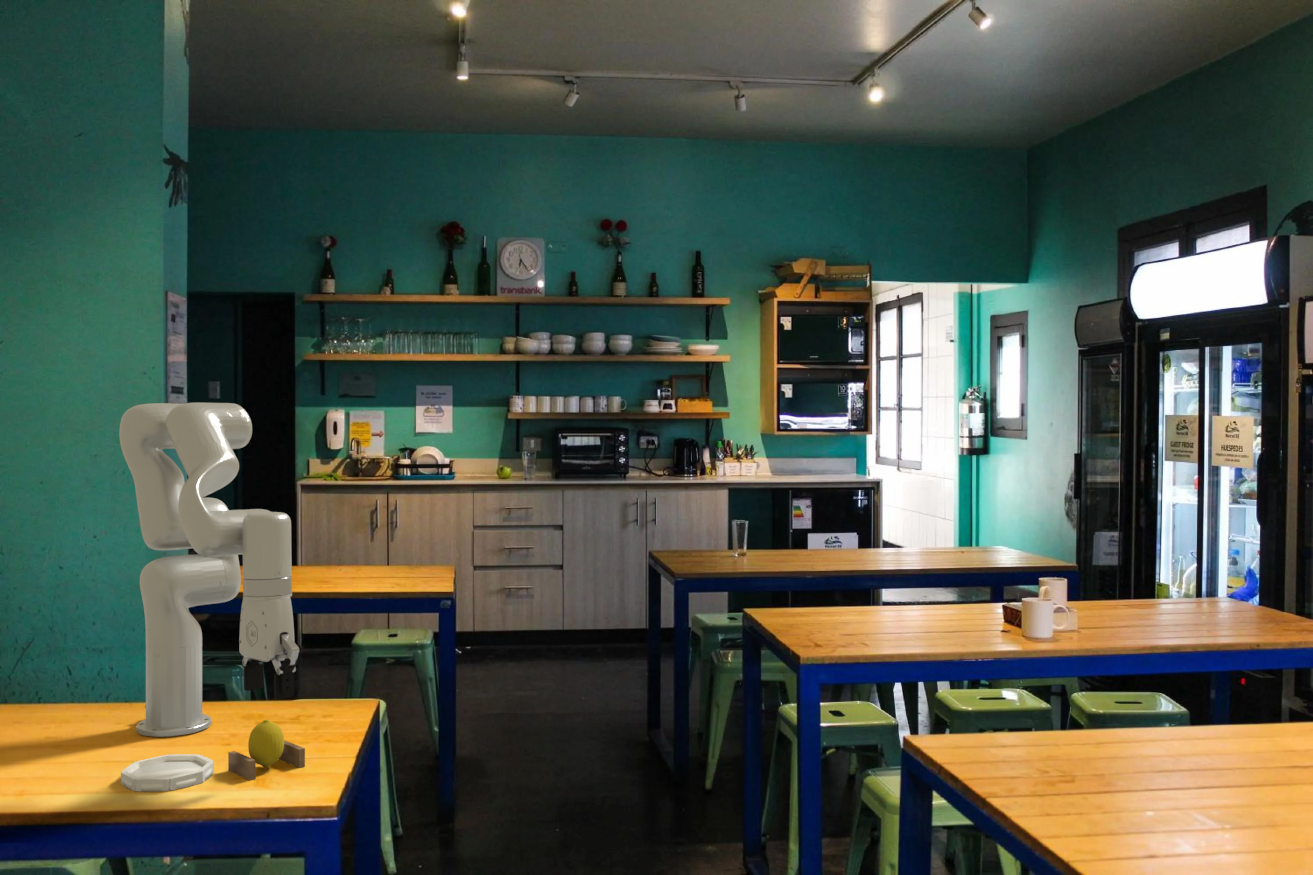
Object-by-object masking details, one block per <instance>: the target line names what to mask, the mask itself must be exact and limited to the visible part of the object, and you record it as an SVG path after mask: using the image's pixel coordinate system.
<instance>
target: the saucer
mask: <svg viewBox="0 0 1313 875" xmlns="http://www.w3.org/2000/svg"><path fill="white" fill-rule="evenodd" d="M214 768H215V760H213V759H211V758H209V757H206V756H205V755H202V754H198V753H197V754H196V753H195V754H194V753H193V754H189V753H187V754H184V753H183V754H182V753H181V754H179V753H177V754H176V753H175V754H163V755H159V756H153V757H149V758H146V759H141V760H136V761H133V762H132V763H131V764H129V765H128V766H127V767H125V768H124V769H122V770H121V772H120V784H121V785H123V788H126V789H128V790H130V791H133V792H144V793H145V792H150V793H151V792H169V791H174V790H179V789H181V790H182V789H185V788H190V787H193V786H196V785H200V784H202V783H205V782H206V781H207V780H209V779H210V778H211V777H212V776H213V774H214V773H215V769H214Z"/></svg>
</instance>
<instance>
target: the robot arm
mask: <svg viewBox="0 0 1313 875" xmlns="http://www.w3.org/2000/svg"><path fill="white" fill-rule="evenodd" d="M118 432H119V444H120V448H121V452H122V455H123V457H124V460H125V462H126V464H127V466H128V469H129V471H130V473H131V475H132V479H133V483H134V487H135V497H136V504H137V512H138V517H139V526H140V530H141V535H142V539H143V541H144V543H145V545H146V546H147V548H148V549H150V550H151V549H152V550H155V551H179V550H189V549H193V551H195V552H196V553H197V554H183V555H172V556H171V555H170V556H165V557H160V558H157V559H153V560H152V561H150V562H148V563H147V564H146V565H145V566H144V567H143V568H142V569H141V572H140V575H139V588H140V589H139V590H140V594H141V600H142V604H143V611H144V612H143V613H144V624H145V626H144V628H145V706H144V708H145V719H143V720H141V721H139V722H138V723H137V724H136V728H135V729H136V732H137V734H139V735H142V736H145V737H151V738H153V737H154V738H157V737H158V738H160V737H161V738H164V737H178V736H185V735H191V734H194V733H195V734H196V733H198V732H202V731H203V730H206V729H208V728H209V727H210V726H211V725H212V718H211V716H209V715H207V714H205V713H203V632H202V627H201V625H200V624H199V621H197V619H196V618H195V617H194V616H193V614H192V613H191V612H190V610H189V608H194V607H197V606H205V605H212V604H213V605H214V604H222V603H226V602H229V601H231V600H234V598H236V597H237V596H238V594H239V593H240V589H241V585H242V602H241V607H240V608H241V609H240V618H239V639H238V643H239V645H238V646H239V648H238V649H239V650H238V651H239V653H240V654H241V656H242V661H241V662H242V665H243V686H244V687H243V688H244V691H247V692H249V691H254V690H259V689H263V688H264V687H265V679H264V677H265V674H264V671H265V669H264V668H265V667H264V663H267V662H270V661H271V662H272V665H273V668H274V670H275V672H276V674H273V698H274V700H277V701H279V700H284V699H289V698H293V697H295V672H296V671H297V668H296V666H297V664H298V662H299V661H298V657H299V653H300V648H299V646H298V645H297V644H296V642H295V627H294V626H295V625H294V624H295V623H294V615H293V614H294V613H293V612H294V611H293V605H292V599H291V598H292V596H293V574H292V573H293V572H292V571H293V569H292V568H293V566H292V565H293V564H292V562H293V561H292V520H291V517H290V516H289V515H288V514H287V513H285V512H283V511H282V512H281V511H279V512H278V511H270V510H269V509H263V508H250V509H247V508H246V509H231V510H230V509H229V508H228V506H227V505H226V504H225V503H224V502H223V501H222V500H220V499H218V498H214V497H207V496H209V495H211V494H213V493H215V492H217V491H219V490H221V489H223V488H224V487H226V486H227V485H229V484H230V483H232V481H233V480H234V479H235V478H236V477H237V476H238V473H239V470H240V462H239V460H238V458H237V456H236V453H235V452H234V450H239V449H241V448H244V447H246V446H247V445H248V444H249V443H250V440H251V438H252V435H253V423H252V419H251V417H250V415H249V413H248V412H247V411H246V409H245V408H243V407H242V406H241V405H240V404H237V403H234V402H233V403H232V402H231V403H230V402H187V403H176V402H175V403H174V402H173V403H171V402H170V403H168V402H167V403H166V402H165V403H164V402H162V403H160V402H159V403H157V402H155V403H153V402H152V403H144V404H143V403H142V404H137V405H134V406H132V407H130V408H128V409H127V410H126V411H125V412H124V413H123V414H122V416H121V419H120V423H119V430H118ZM164 449H168V450H169V449H170V450H173V449H175V453H176V454H177V456H178V458H179V460H180V462H181V464H182V465H181V466H182V467H183V469H184V471H185V473H186V474H187V478H186V481H185V477H184V474H183V472H182V469H180V467H179V466H178V464H177V463H176V462H175V461H174V460H173V459H172V458H171V457H170V456H169V455H167V454H166V453H165V452H164V451H163V450H164ZM239 555H242V575H241V565H240V560H239V559H240V558H239ZM282 661H283V662H282ZM281 662H282V663H281Z"/></svg>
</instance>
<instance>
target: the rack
mask: <svg viewBox="0 0 1313 875" xmlns="http://www.w3.org/2000/svg"><path fill="white" fill-rule="evenodd" d="M227 754H228V756H227V757H228V758H227V759H228V772H230V773H232V774H235V775H237V776H239V777H241V778H243V779H246V780H247V781H253V780H256V778H257V777H256V775H257V774H256V770H257V769H256V768H257V767H256V765H257V763H256V760H254V759H252V758H251V757H250V756H247V755H244V754H242V753H240V752H237V751H236V750H232V751H228V753H227ZM278 760H279V761H282V762H284V763H287V764H289V765H292V766H293V767H297V768H304V766H305V767H306V748H305V747H302V746H300V745H298V744H294V743H292V742H290V741H287V740H285V739H284V749H283V753H282V755H281V757H280V758H279V759H278Z"/></svg>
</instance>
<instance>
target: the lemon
mask: <svg viewBox="0 0 1313 875" xmlns="http://www.w3.org/2000/svg"><path fill="white" fill-rule="evenodd" d="M284 740H285V738H284V732H283V731H282V729H281V727H280V726H279V725H278V724H277V723H276V722H273V721H270V720H269V719H264V720H263V721H261V722H260V723H258V724H256V725H255V726H254V727H253V729H252V730H251V731H250V734H249V738H248V746H247V747H248V754H249V757H250V758H252V759H254V760H256V765H260V766H261V767H262V768H263V769H268V768H270V767H271V765H273V764H275V763H277V762H278V760H279V758H280V757H281V755H282V753H283V749H284Z"/></svg>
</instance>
